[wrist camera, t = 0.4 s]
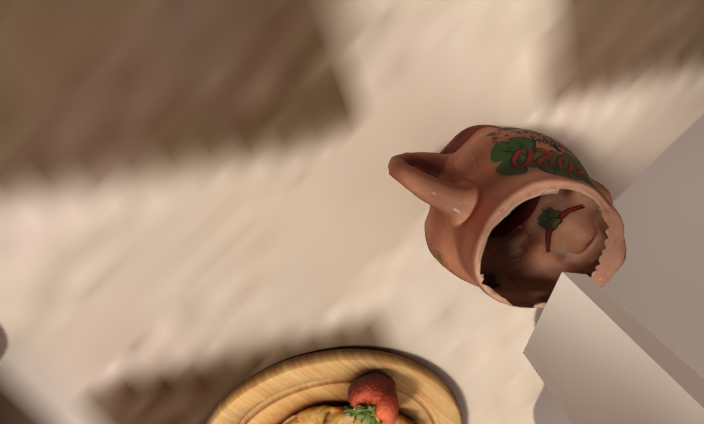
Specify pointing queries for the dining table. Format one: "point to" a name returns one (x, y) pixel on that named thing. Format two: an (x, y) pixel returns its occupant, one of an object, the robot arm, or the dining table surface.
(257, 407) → the wooden plate with food
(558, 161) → the brown rounded vessel
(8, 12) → the dining table surface
